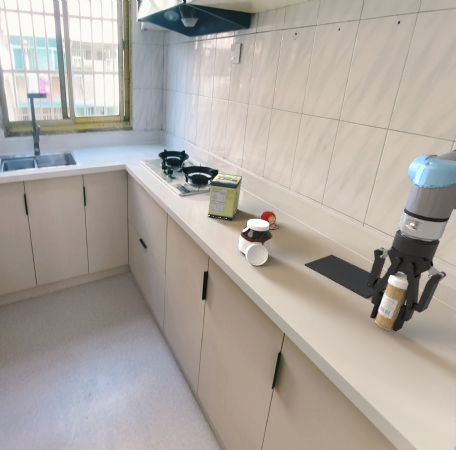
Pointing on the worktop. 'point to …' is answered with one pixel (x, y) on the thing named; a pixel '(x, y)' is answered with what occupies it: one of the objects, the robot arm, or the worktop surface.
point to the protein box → (224, 195)
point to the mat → (343, 274)
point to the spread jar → (256, 241)
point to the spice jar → (392, 301)
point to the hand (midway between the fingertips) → (385, 322)
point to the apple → (269, 219)
